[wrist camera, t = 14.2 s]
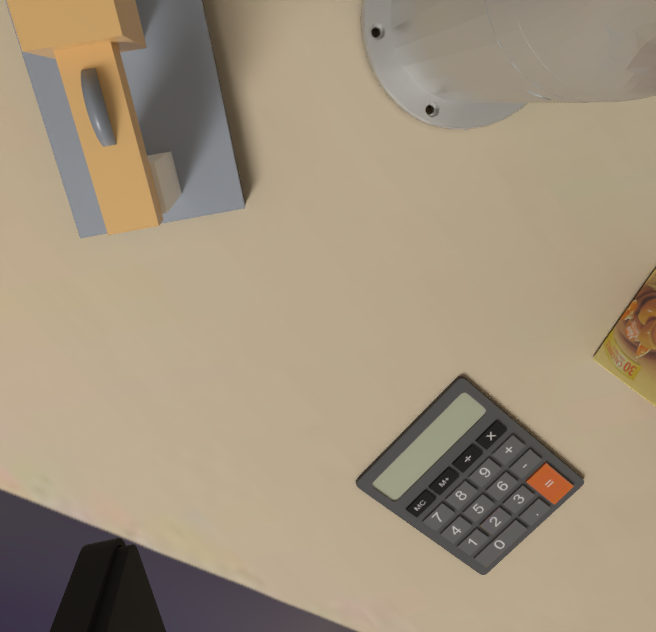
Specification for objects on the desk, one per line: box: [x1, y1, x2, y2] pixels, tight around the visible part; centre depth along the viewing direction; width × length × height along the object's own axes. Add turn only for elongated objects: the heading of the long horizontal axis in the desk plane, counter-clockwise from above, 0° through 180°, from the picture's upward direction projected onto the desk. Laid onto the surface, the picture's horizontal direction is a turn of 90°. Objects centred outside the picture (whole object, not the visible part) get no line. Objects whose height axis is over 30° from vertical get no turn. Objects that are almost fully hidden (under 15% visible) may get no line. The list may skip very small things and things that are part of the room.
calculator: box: [356, 377, 584, 575], centre depth 47 cm, size 12×1×15 cm
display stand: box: [5, 0, 245, 238], centre depth 30 cm, size 10×23×8 cm, turn 9°
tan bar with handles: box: [6, 0, 164, 235], centre depth 26 cm, size 4×20×6 cm, turn 9°
